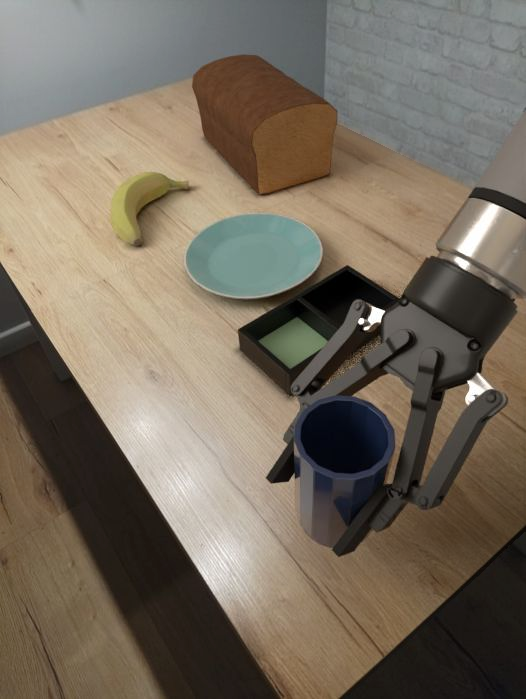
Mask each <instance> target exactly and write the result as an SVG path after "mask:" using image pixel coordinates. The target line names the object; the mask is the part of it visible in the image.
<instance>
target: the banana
mask: <svg viewBox="0 0 526 699" xmlns="http://www.w3.org/2000/svg"><path fill="white" fill-rule="evenodd" d="M189 183H190V180H184V181H183V180H182V181H177V180H174V179H172V178H169V177H168V176H167V175H165V174H163V173H161V172H156V171H144V172H141V173H138V174H135V175H133V176H131V177H129V178H128V179H126V180H124V181H123V182H122V183H120V185H119V186H118V187H117V188H116V189H115V191H114V193H113V195H112V197H111V201H110V224H111V226H112V229H113V230H114V232H115V233H116V235H117V236H118V237H119V238H120V239H121V240H123V241H124V242H125V243H127V244H130V245H132V246H135V247H136V246H137V247H138V246H140V245H142V243H143V236H142V231H141V228H140V226H139V223H138V220H137V216H138V214H139V213H140V211H141V209H142V208H143V207H144V206H146V205H147V204H149V203H150V202H152V201H154V200H156V199H158V198H160V197H162V196H163V195H165V194H166V193H167V192H168V191H169V190H170V189H174V188H179V189H184V190H186V191H188V190H189Z"/></svg>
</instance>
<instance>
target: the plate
mask: <svg viewBox="0 0 526 699" xmlns="http://www.w3.org/2000/svg"><path fill="white" fill-rule="evenodd" d="M323 257H324V247H323V244H322V241H321V238H320V237H319V236H318V234H317V233H316V231H315V230H313V229H312V228H311V227H310V226H309V225H307V224H306V223H304V222H302V221H301V220H298V219H297V218H293V217H290V216H288V215H285V214H284V215H283V214H279V213H271V212H248V213H241V214H235V215H231V216H227V217H224V218H222V219H219V220H217V221H214V222H212V223H210V224H209V225H207V226H205V227H204V228H203V229H201V230H200V231H199V232H197V233H196V235H195V236H193V238H192V239H191V240H190V242H189V243H188V244H187V246H186V249H185V251H184V254H183V264H184V269H185V271H186V273H187V276H189V278H190V279H191V280H192V281H193V282H194V283H195V284H196V285H197V286H198V287H200V288H201V289H203V290H205V291H207V292H209V293H211V294H213V295H216V296H220V297H223V298H227V299H234V300H259V299H264V298H269V297H273V296H276V295H279V294H283V293H285V292H288V291H290V290H292V289H295V288H296V287H298V286H300V285H301V284H303V283H304V282H305V281H307V280H308V279H309V278H311V276H312V275H313V274H315V273H316V272H317V270H318V268H319V267H320V265H321V263H322V260H323Z"/></svg>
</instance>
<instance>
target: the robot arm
mask: <svg viewBox="0 0 526 699" xmlns="http://www.w3.org/2000/svg"><path fill="white" fill-rule="evenodd" d="M435 248H436V250H437V252H438V254H437V256H436V255H430V256H429V257H425V259H424V260H423V262H422V263H421V265H419V267H418V269H417V271H416V272H415V274H414V275H413V276H412V278H411V279H410V281H409V282H408V284H407V285H406V287H405V288H404V290H403V292H402V294H401V297H399V298H400V300H399V301H398V302H397V303H396V304H395V305H394V306H392V307H391V308H389V309H387V310H386V311H383V310H381V309H378V308H376V307H374V306H373V305H371V304H369V303H367V302H365V301H363V300H360V299H357V300H355V301H354V302H353V303H352V305H351V307H350V310H349V312H348V314H347V317H346V319H345V321H344V323H343V325H342V326H341V327H340V328H339V329H338V330H337V332H336V333H335V334H334V335H333V336H332V338H331V339H330V340H329V341H328V342H327V343H326V345H325V346H324V347H323V348H322V349H321V350H320V352H319V353H318V354H317V355H316V356H315V357H314V359H313V360H312V361H311V362H310V363H309V365H308V366H307V367H306V368H305V369H304V370H303V372H302V373H301V374H300V375H299V376H298V377H297V379H296V380H295V381H294V382H293V383H292V385H291V388H290V389H291V392H292V394H293V396H295V397H296V399H297V400H298V403H299V411H298V413H297V414H296V415H295V417H294V419H293V420H292V421H291V423H290V424H289V426H288V427H287V429H286V431H285V432H284V434H283V438H282V441H284V443H285V444H286V446H285V448H284V449H283V450H282V453H281V454H280V455H279V456H278V458H277V460H276V461H275V462H274V464H273V466H272V467H271V469H270V470H269V472H268V474H267V475H266V476H265V479H266V480H267V481H268V483H270V484H281V483H289V482H290V480H291V479H292V477H293V476H294V431H295V423H296V422H297V420H298V418H299V417H300V415H301V413H302V412H303V410H304V409H305V408H307V407H308V406H310V405H311V404H313V403H314V402H315V401H317V400H319V399H323V398H327V397H330V396H334V395H340V396H354V395H355V394H357V393H359V392H360V391H361V390H363V389H364V388H367V386H369V385H370V384H372V383H373V382H375V381H376V380H378V379H379V378H381V377H384V376H386V375H388V374H389V375H391V376H394V377H397V378H398V379H400V381H401V382H402V384H403V385H404V386H405V387H406V388H408V389H409V390H411V391H412V393H411V397H410V406H411V407H410V412H409V414H408V415H409V416H408V419H407V423H406V427H405V431H404V435H403V439H402V443H401V447H400V451H399V455H398V459H397V463H396V467H395V471H394V475H393V478H392V482H391V483H386V484H385V485H379V486H378V488H377V489H376V491H375V492H374V493H373V495H372V496H371V497H370V498H369V500H368V501H367V503H366V504H365V505H364V507H363V508H362V509H361V511H360V512H359V513H358V515H357V516H356V517H355V519H354V520H353V521H352V523H351V524H350V526H349V527H348V528H347V530H346V531H345V532H344V534H343V535H342V536H341V538H340V539H339V540H338V542H337V543H336V545H335V546H334V547H333V548H331V551H332V552H333V553H334V555H336V557H337V558H341V557H343V556H346V555H348V554H351V553H354V552H355V551H356V550H357V548H358V547H359V546H360V544H362V543H363V542H362V540H363V539H364V538H365V536H366V535H367V534H368V532H369V531H370V530H371V528H372V529H373V532H374V533H379V532H382V531H385V530H387V529H389V528H390V527H391V526H392V525H393V523H394V522H395V521H396V519H397V518H398V517H399V516H400V514H401V513H402V512H403V510H404V509H405V508H406V506H407V505H408V504H412V505H415V506H416V507H418V509H419V510H421V511H428V510H431V509H434V508H437V507H439V506H441V505H442V504H443V502H444V500H445V499H446V497H447V495H448V493H449V491H450V490H451V487H452V486H453V484H454V482H455V480H456V478H457V477H458V475H459V473H460V471H461V470H462V468H463V466H464V464H465V462H466V461H467V459H468V457H469V456H470V453H471V452H472V450H473V448H474V446H475V444H476V443H477V440H478V439H479V438H480V436H481V434H482V432H483V431H484V429H485V426H486V424H487V423H488V422H489V421H490V420H491V419H493V418H494V417H495V416H496V415H497V414H498V413H500V412H501V411H502V410H503V409H504V408H506V406H507V405H509V397H508V396H507V394H506V393H505V392H503V391H500V390H498V389H497V388H496V387H495V386H494V385H493V384H492V383H491V382H490V381H488V379H487V378H486V377H485V376H484V375H483V374H482V372H483V364H484V360H485V357H486V355H487V354H488V353H489V351H490V350H491V349H492V347H493V346H494V345H495V343H496V342H497V341H498V339H499V338H500V337H501V336H502V334H503V333H504V331H505V330H506V329H507V328H508V326H509V324H510V323H511V322H512V321H513V319H514V318H515V317H516V316H517V314H518V313H519V311H518V310H517V309H518V305H517V304H516V303H515V301H516V299H521V300H525V299H526V106H524V108H523V110H522V113H521V115H520V117H519V118H518V119H517V121H516V122H515V124H514V126H513V127H512V129H511V130H510V131H509V134H507V136H506V138H505V139H504V141H503V142H502V144H501V146H500V147H499V148H498V150H497V152H496V153H495V154H494V157H493V158H492V159H491V161H490V162H489V164H488V165H487V167H486V168H485V170H484V172H483V173H482V174H481V176H480V178H478V181H477V182H476V184H475V185H474V186H473V188H472V190H471V192H470V194H469V195H468V196H467V198H466V199H465V201H464V202H463V204H462V205H461V206H460V208H459V209H458V211H457V212H456V214H454V217H453V218H452V219H451V221H450V222H449V223H448V225H447V226H446V228H445V229H444V231H443V232H442V233H441V235H440V236H439V238H437V240H436V242H435ZM378 325H380V335H379V344H378V345H377V346H376V347H374V348H373V349H371V350H370V351H368V352H367V353H366V354H364V355H363V356H361V359H360V361H358V362H357V363H355V364H354V365H352V366H351V367H350V368H348V369H347V370H346V371H344V372H342V373H341V374H340V375H339V376H337V377H336V378H334V379H333V380H331V381H330V382H328V381H329V380H330V379H331V378H332V376H334V374H335V373H336V372H337V371H338V370H339V369H340V367H341V366H342V365H343V364H344V363H345V362H346V361H347V360H348V358H349V357H350V356H351V355H352V354H354V353H353V351H354V350H355V349H356V348H357V347H358V346H359V345H360V343H361V342H362V341H363V340H364V339H365V337H366V336H367V334H368V332H372V331H374V330H375V329H376V327H377V326H378ZM327 382H328V383H327ZM326 383H327V384H326ZM466 384H468V386H469V390H468V392H467V394H466V395H465V403H466V405H467V406H466V407H465V408H464V409H463V411H462V412H461V414H460V415H459V417H458V419H457V421H456V423H455V424H454V426H453V428H452V430H451V432H450V433H449V436H448V437H447V439H446V441H445V443H444V445H443V446H442V448H441V450H440V452H439V454H438V455H437V457H436V459H435V461H434V463H433V465H432V466H431V468H430V470H429V472H428V474H427V476H426V478H425V480H424V481H423V483H422V485H421V481H422V477H423V473H424V470H425V465H426V462H427V457H428V454H429V449H430V445H431V441H432V438H433V434H434V430H435V426H436V422H437V418H438V414H439V412H440V411H441V410H442V408H443V402H444V400H445V395H446V391H448V390H451V389H454V388H457V387H460V386H463V385H466Z"/></svg>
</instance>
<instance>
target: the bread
mask: <svg viewBox="0 0 526 699" xmlns="http://www.w3.org/2000/svg"><path fill="white" fill-rule="evenodd" d="M191 88H192V91H193V94H194V96H195V99H196V104H197V108H198V113H199V116H200V123H201V129H202V134H203V137H204V138H205V140H207V142H208V143H209V144H210V145H211V146H212V147H213V148H214V149H215V150H216V151H217V153H218V154H219V155H220V156H221V157H222V158H223V159H224V160H225V161H226V162H227V163H228V164H229V165H230V166H231V167H232V168H233V169H234V171H235V172H236V173H237V174H238V175H239V176H240V177H241V178H242V179H243V180H244V181H245V182H246V183H247V184H248V185H249V187H251V188H252V190H254V191H255V192H256V193H257V195H265V194H270V193H274V192H278V191H280V190H283V189H287V188H290V187H294V186H298V185H301V184H304V183H307V182H310V181H314V180H317V179H320V178H321V179H322V178H323V177H326V176H329V175H330V173H331V164H332V153H333V152H332V150H333V146H334V135H335V133H336V132H335V131H336V128H337V126H338V110H337V109H336V108H335V106H333V105H332V104H331V103H330V102H329V101H327V100H326V99H325V98H324V97H323V96H321V95H319V94H318V93H316V92H314V91H313V90H311V89H309V88H307V87H305V86H304V85H302V84H301V83H299V82H298V81H297V80H295V79H293V77H291V76H288V75H287V74H285V72H284V71H282V70H280V69H279V68H277V67H276V66H274V65H273V64H272V63H270V62H268V61H267V60H265V59H264V58H262V57H261V56H260V55H257V54H237V55H229V56H226V57H221V58H219V59H218V58H217V59H215V60H213V61H211V62H209V63H206V64H205V65H202V66H201V67H199V69H198V70H197V71H196V72H195V73H194V74H193V75H192V83H191Z"/></svg>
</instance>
